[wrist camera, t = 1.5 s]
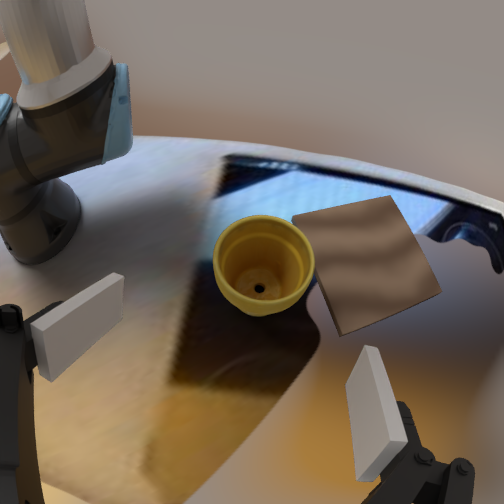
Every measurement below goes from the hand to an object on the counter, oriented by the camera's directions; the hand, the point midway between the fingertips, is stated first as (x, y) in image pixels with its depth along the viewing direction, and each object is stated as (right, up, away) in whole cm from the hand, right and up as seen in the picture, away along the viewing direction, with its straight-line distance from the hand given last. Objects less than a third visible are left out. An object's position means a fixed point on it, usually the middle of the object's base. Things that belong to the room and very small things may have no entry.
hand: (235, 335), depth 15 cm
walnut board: (+18, +3, +27) cm, 33 cm away
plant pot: (+2, -1, +24) cm, 25 cm away
